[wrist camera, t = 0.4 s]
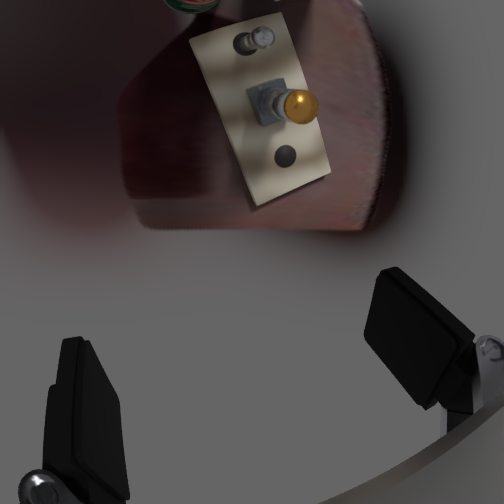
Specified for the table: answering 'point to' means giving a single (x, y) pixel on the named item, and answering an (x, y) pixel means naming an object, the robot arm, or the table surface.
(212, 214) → the table surface
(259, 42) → the fixed leg
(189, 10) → the canned tomato
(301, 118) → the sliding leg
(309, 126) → the hole plate
